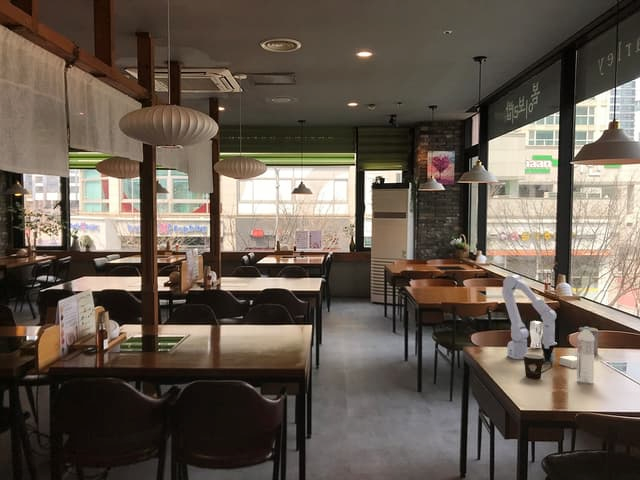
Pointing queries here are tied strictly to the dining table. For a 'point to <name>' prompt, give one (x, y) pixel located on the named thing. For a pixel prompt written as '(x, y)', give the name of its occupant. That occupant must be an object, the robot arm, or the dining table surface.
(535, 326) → the beer glass
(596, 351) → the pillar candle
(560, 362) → the cream block
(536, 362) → the coffee mug
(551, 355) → the blue cube
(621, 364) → the dining table surface
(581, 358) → the water bottle
